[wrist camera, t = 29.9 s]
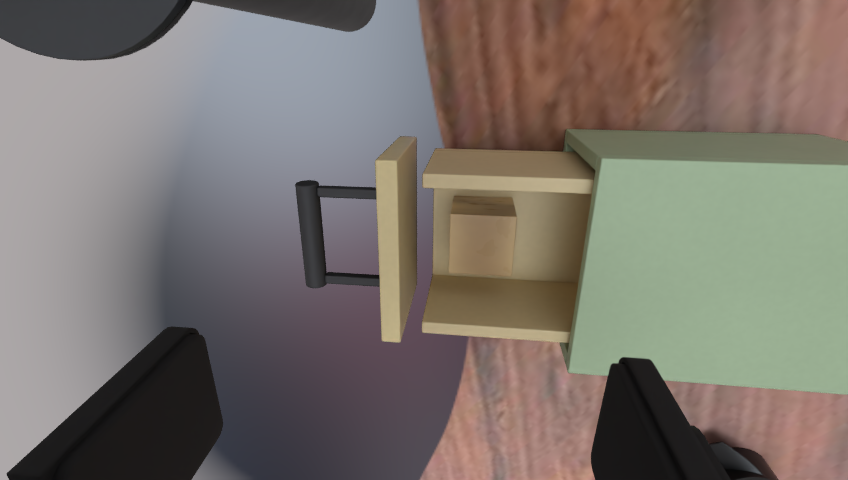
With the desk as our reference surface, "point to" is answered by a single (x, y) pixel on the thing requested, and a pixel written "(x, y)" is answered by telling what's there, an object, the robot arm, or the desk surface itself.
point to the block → (482, 235)
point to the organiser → (715, 258)
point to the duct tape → (742, 463)
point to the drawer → (397, 236)
